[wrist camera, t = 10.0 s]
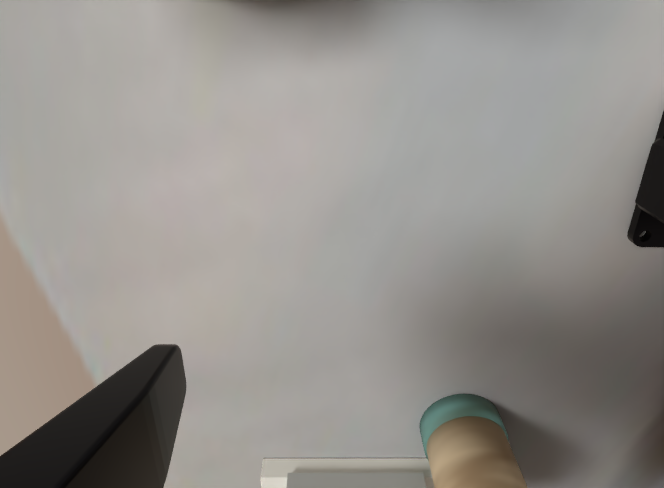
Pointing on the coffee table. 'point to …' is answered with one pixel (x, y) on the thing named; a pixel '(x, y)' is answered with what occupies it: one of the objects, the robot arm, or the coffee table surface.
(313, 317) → the coffee table surface
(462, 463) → the tan domed cylinder
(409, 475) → the socket board
